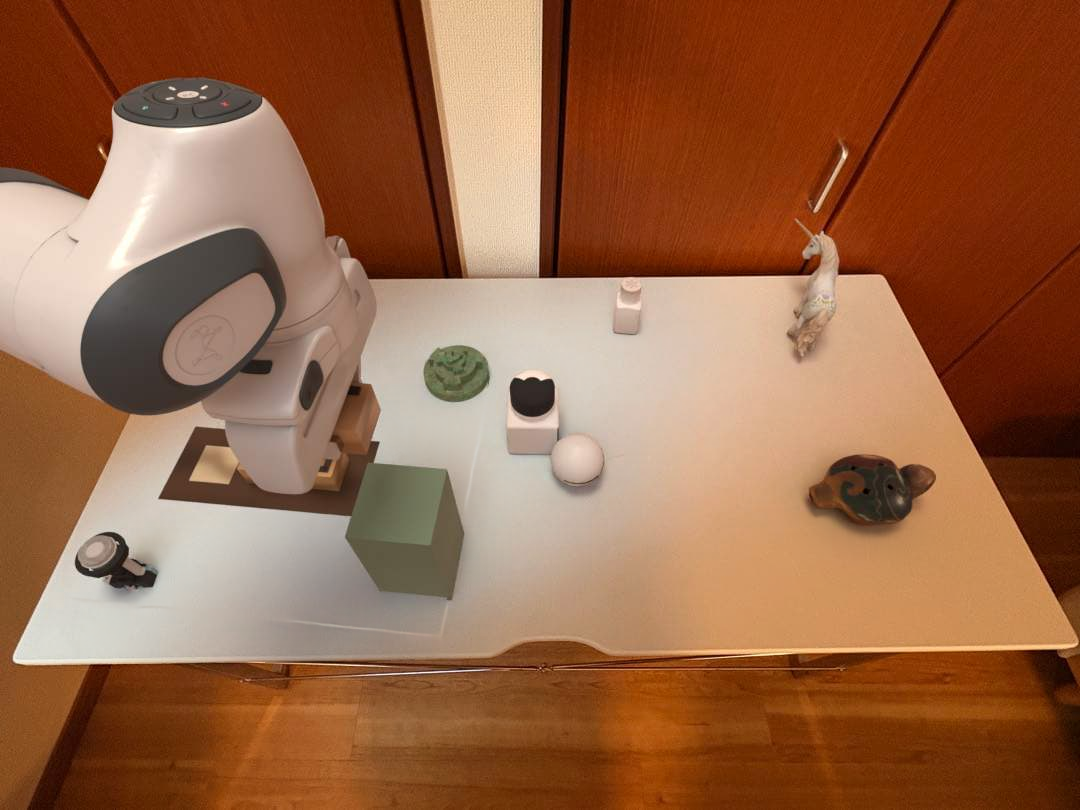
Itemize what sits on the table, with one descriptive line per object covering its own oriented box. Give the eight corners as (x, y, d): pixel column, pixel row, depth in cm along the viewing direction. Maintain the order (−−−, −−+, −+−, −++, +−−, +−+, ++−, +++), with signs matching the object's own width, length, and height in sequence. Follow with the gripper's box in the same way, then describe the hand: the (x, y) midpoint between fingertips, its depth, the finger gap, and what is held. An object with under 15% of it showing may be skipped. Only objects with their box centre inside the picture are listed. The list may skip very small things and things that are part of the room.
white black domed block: (558, 455, 88) (559, 406, 79) (508, 454, 88) (503, 406, 79) (557, 414, 93) (559, 363, 83) (510, 414, 93) (506, 363, 83)
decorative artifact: (497, 395, 95) (480, 349, 100) (493, 366, 89) (476, 319, 95) (433, 412, 93) (420, 364, 99) (426, 384, 87) (412, 335, 93)
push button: (101, 602, 76) (49, 573, 68) (117, 561, 80) (69, 529, 72) (155, 601, 77) (109, 571, 68) (169, 560, 80) (126, 527, 72)
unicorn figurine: (811, 281, 109) (840, 218, 98) (837, 366, 97) (873, 305, 87) (770, 280, 109) (794, 218, 98) (791, 364, 98) (822, 304, 87)
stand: (451, 600, 76) (430, 545, 62) (381, 593, 77) (344, 537, 63) (464, 533, 81) (447, 468, 68) (398, 527, 82) (367, 462, 68)
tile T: (366, 455, 55) (354, 428, 51) (312, 450, 55) (296, 423, 51) (381, 410, 57) (370, 381, 54) (329, 405, 58) (315, 377, 54)
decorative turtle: (929, 524, 81) (960, 500, 75) (819, 546, 81) (839, 523, 74) (894, 460, 87) (920, 432, 80) (790, 480, 86) (807, 453, 79)
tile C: (339, 491, 84) (330, 475, 81) (304, 488, 85) (293, 472, 81) (349, 460, 87) (341, 443, 84) (315, 457, 87) (305, 441, 84)
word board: (358, 520, 83) (356, 516, 82) (161, 502, 85) (157, 498, 84) (381, 445, 90) (379, 441, 89) (198, 430, 92) (195, 425, 91)
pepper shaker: (614, 316, 104) (619, 274, 97) (637, 318, 104) (645, 276, 96) (612, 333, 102) (617, 291, 94) (636, 336, 102) (644, 294, 94)
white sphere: (548, 494, 85) (548, 467, 79) (552, 449, 89) (552, 420, 83) (620, 500, 84) (626, 473, 78) (621, 454, 88) (626, 425, 82)
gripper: (298, 220, 50) (343, 335, 62) (188, 425, 38) (269, 522, 50) (373, 225, 50) (405, 340, 61) (285, 434, 38) (344, 529, 49)
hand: (343, 423), depth 55 cm, fingers closed on tile T, 5 cm apart
